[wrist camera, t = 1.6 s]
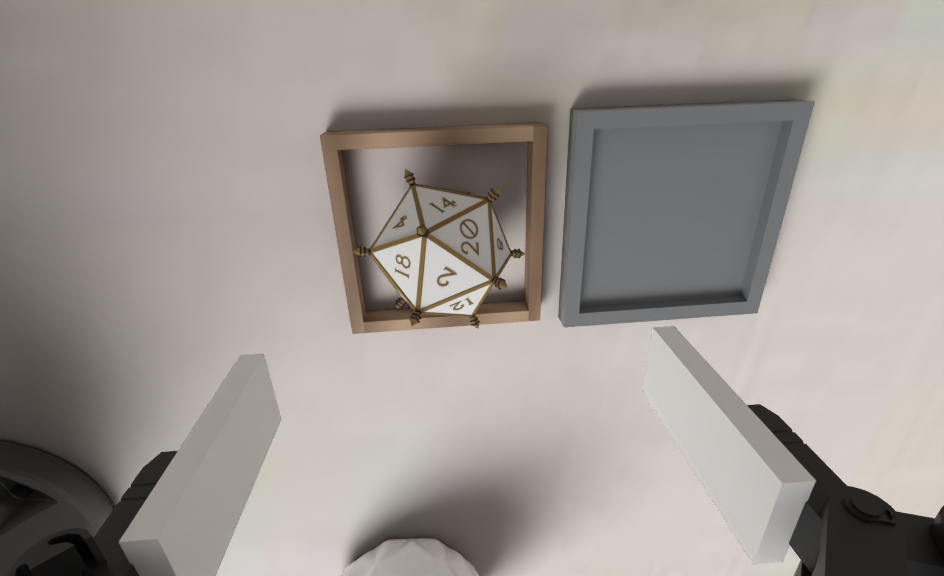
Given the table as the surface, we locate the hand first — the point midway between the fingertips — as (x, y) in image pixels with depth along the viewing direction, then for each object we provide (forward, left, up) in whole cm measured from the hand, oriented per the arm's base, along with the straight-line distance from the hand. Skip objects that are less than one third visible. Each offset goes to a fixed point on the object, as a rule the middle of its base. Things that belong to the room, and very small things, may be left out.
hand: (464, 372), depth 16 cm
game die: (0, 0, -16) cm, 16 cm away
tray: (+15, 0, -16) cm, 21 cm away
